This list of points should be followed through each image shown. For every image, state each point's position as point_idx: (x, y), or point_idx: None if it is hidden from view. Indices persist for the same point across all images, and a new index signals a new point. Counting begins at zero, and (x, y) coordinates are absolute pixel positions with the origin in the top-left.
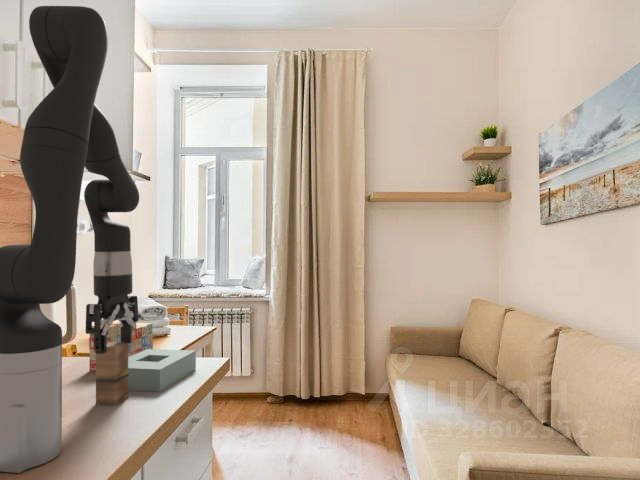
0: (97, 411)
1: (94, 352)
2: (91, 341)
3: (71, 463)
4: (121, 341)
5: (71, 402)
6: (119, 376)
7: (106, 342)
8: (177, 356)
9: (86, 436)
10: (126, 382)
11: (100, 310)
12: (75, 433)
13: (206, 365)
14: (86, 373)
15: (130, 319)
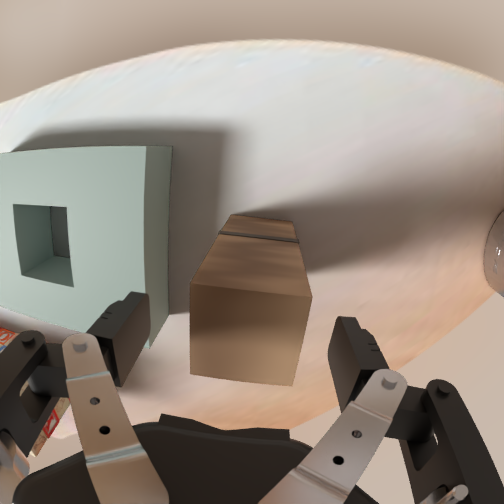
0: (336, 245)
1: (59, 407)
2: (50, 428)
3: None
4: (148, 335)
5: None
6: (272, 241)
7: (351, 341)
8: (14, 176)
9: (464, 193)
10: (234, 227)
11: (473, 496)
12: (451, 224)
13: None
14: None
15: (81, 368)
